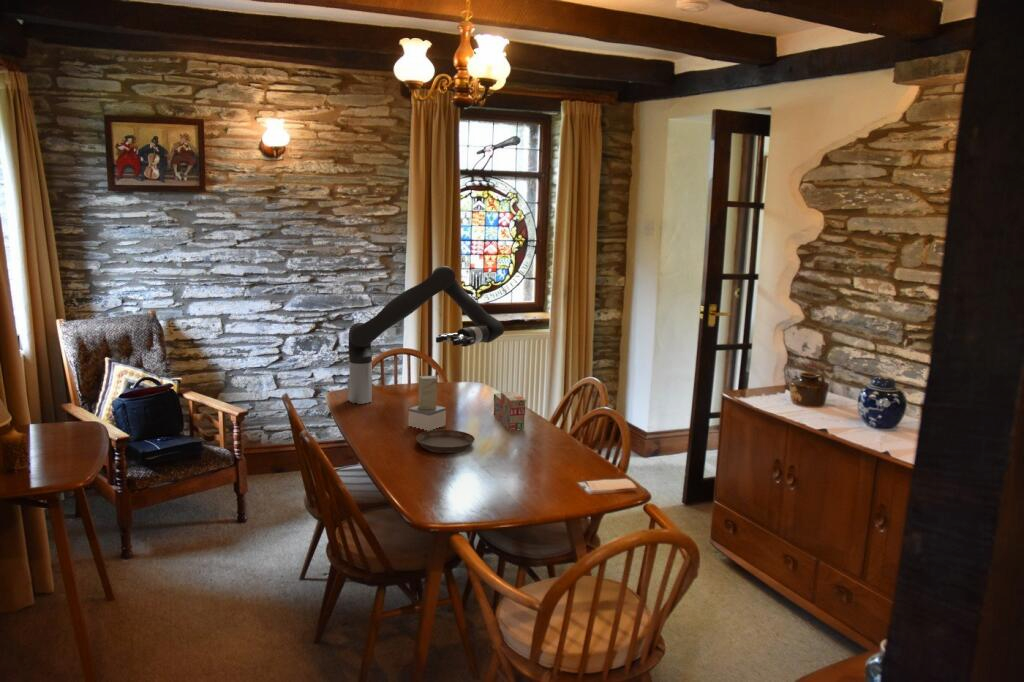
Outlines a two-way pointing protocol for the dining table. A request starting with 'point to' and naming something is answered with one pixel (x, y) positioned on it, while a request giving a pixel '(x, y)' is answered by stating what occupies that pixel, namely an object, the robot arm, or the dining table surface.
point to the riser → (427, 418)
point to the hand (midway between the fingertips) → (445, 341)
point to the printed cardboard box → (510, 409)
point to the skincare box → (427, 392)
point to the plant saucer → (445, 441)
